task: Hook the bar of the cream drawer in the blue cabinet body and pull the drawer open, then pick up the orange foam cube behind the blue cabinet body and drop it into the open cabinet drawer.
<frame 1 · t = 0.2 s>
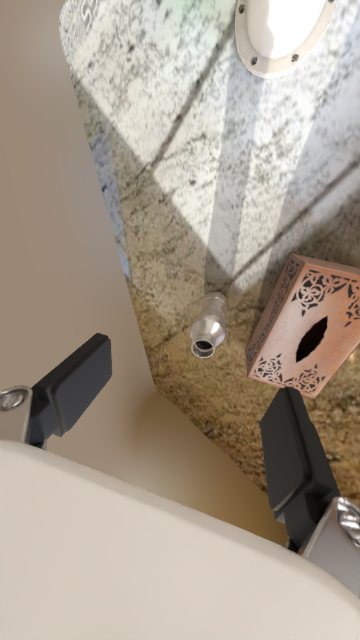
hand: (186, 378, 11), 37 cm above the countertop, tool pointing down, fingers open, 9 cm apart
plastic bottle: (214, 301, 48), on the countertop
tissue box cover: (296, 316, 45), on the countertop
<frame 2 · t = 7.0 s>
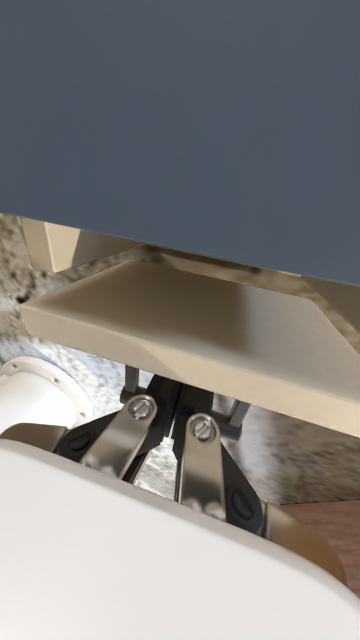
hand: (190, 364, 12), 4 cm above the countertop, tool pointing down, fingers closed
cabinet drawer: (219, 242, 7), point 5 cm above the countertop, slide at 2.8 cm, touching gripper
blue cabinet body: (277, 27, 8), on the countertop
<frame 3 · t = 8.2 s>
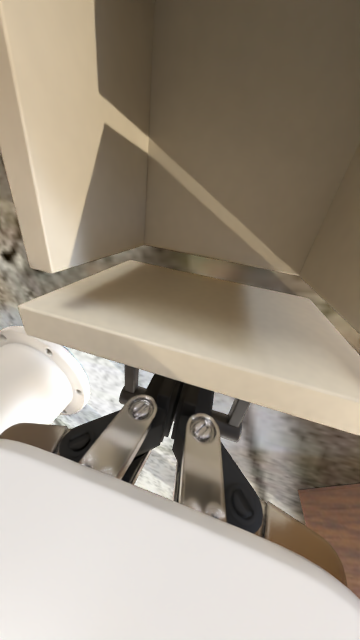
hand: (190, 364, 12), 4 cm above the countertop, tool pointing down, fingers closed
cabinet drawer: (217, 242, 8), point 5 cm above the countertop, slide at 7.2 cm
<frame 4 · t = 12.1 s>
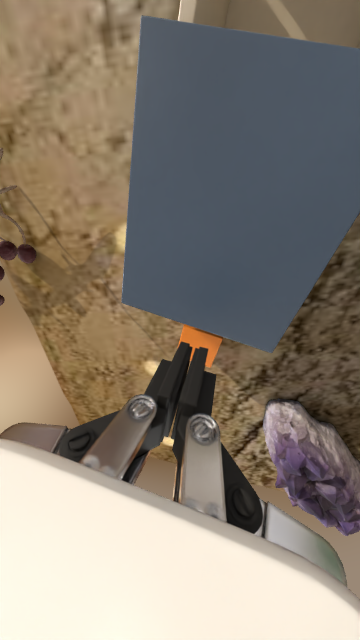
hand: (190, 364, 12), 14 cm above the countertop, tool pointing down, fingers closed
geode: (303, 438, 31), on the countertop
decorative branch: (5, 255, 30), on the countertop
orange foam cube: (203, 328, 26), on the countertop
blue cabinet body: (229, 222, 20), on the countertop
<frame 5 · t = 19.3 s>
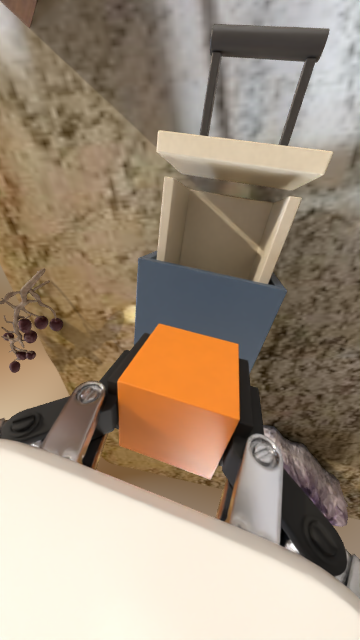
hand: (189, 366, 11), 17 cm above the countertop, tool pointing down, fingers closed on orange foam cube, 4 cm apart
cabinet drawer: (226, 208, 18), point 5 cm above the countertop, slide at 7.5 cm
geode: (284, 455, 38), on the countertop
decorative branch: (37, 323, 38), on the countertop
orange foam cube: (190, 363, 12), point 17 cm above the countertop, touching gripper
blue cabinet body: (204, 307, 28), on the countertop
when the fingers open (8 cm above the countertop, at t = 22.8 s): orange foam cube drops 6 cm, resting on cabinet drawer.
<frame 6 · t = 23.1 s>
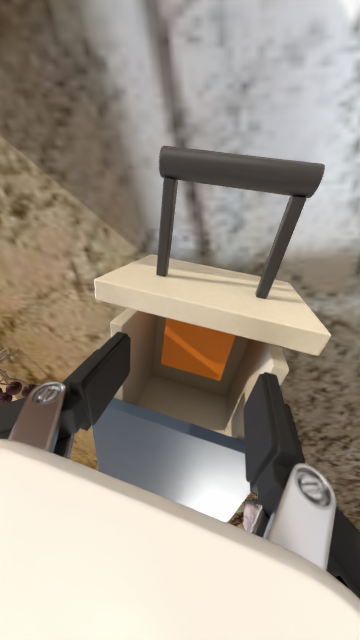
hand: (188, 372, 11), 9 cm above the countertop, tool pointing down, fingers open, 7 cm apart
cabinet drawer: (200, 329, 14), point 5 cm above the countertop, slide at 7.5 cm, touching orange foam cube
geode: (282, 527, 35), on the countertop
decorative branch: (12, 384, 35), on the countertop
orange foam cube: (204, 318, 17), point 2 cm above the countertop, touching cabinet drawer
blue cabinet body: (187, 391, 24), on the countertop
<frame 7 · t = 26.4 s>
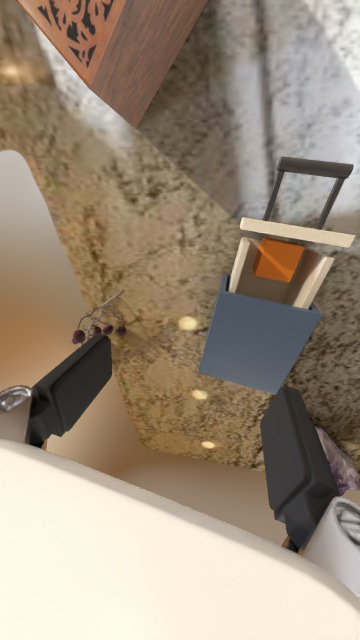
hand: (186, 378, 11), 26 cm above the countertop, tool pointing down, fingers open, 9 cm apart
cabinet drawer: (277, 255, 26), point 5 cm above the countertop, slide at 7.5 cm, touching orange foam cube
geode: (304, 437, 46), on the countertop
decorative branch: (102, 329, 47), on the countertop
orange foam cube: (272, 256, 28), point 2 cm above the countertop, touching cabinet drawer
blue cabinet body: (247, 318, 36), on the countertop
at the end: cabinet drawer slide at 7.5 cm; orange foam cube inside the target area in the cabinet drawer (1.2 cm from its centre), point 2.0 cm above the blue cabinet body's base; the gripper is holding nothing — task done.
